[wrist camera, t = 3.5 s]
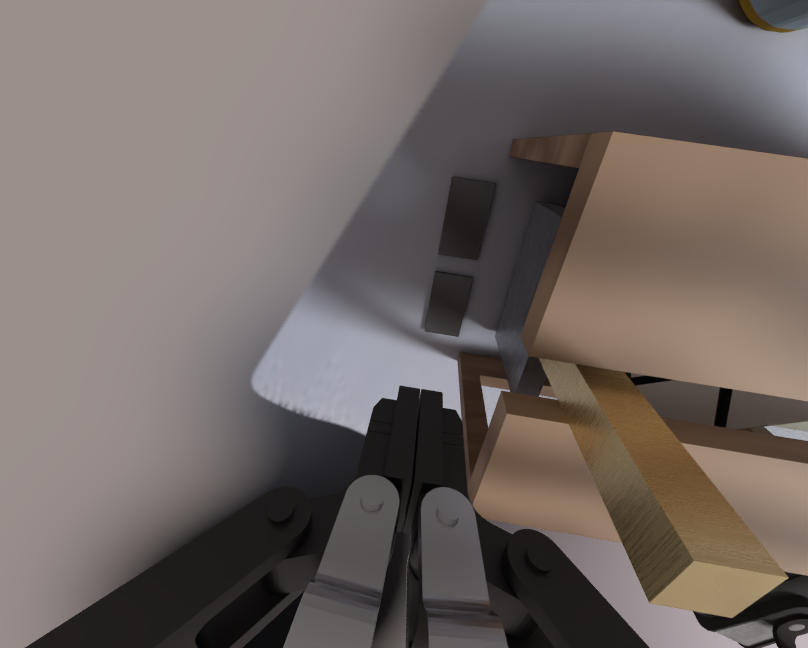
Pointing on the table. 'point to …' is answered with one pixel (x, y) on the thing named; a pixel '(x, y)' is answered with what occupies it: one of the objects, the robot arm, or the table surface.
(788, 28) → the bottle
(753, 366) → the wooden plank structure
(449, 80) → the table surface
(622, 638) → the robot arm
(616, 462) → the wooden square rod
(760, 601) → the camera
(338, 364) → the table surface
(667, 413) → the puzzle cube
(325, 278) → the table surface
